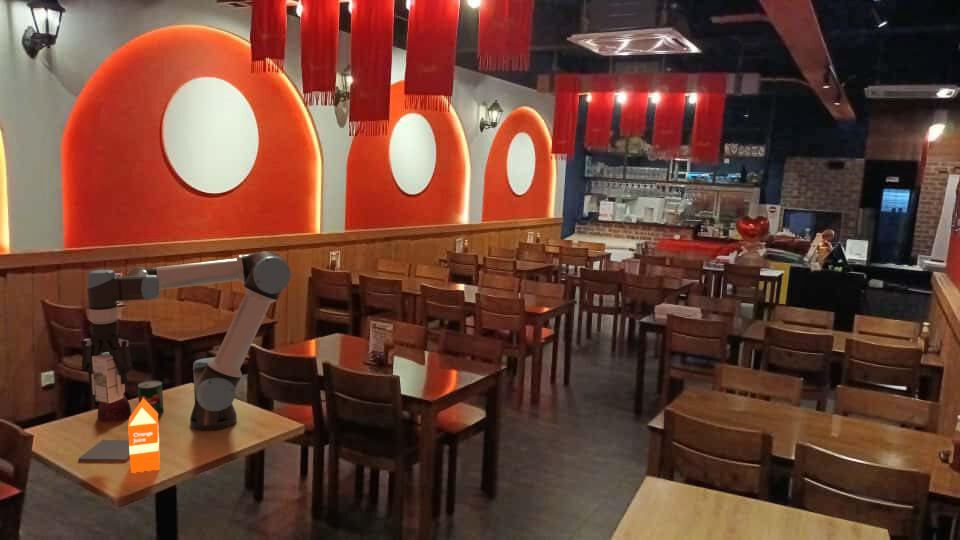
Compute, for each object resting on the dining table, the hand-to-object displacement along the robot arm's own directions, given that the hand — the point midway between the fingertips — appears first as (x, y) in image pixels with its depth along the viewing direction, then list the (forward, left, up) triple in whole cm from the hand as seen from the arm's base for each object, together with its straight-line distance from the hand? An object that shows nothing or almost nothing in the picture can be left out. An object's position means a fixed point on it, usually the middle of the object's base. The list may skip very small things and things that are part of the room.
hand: (109, 393), depth 211 cm
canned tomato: (+2, -32, -19) cm, 38 cm away
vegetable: (+13, -28, -19) cm, 37 cm away
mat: (-1, +1, -19) cm, 19 cm away
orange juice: (-15, +10, -19) cm, 26 cm away
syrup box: (0, 0, -2) cm, 2 cm away
